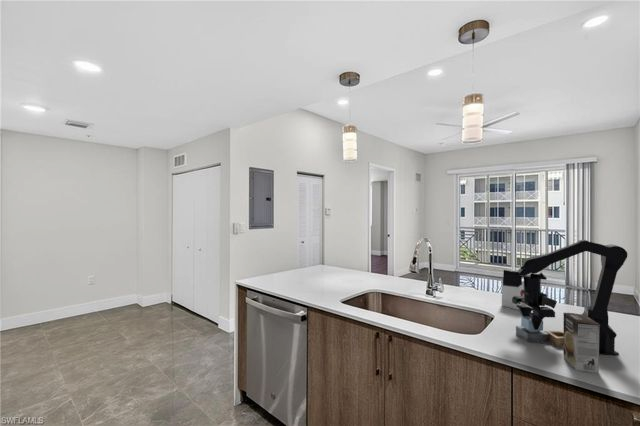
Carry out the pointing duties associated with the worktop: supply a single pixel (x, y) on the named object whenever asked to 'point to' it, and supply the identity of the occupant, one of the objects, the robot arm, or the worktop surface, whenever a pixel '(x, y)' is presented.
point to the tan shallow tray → (556, 338)
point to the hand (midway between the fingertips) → (532, 326)
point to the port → (532, 335)
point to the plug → (530, 324)
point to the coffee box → (581, 342)
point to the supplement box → (511, 295)
